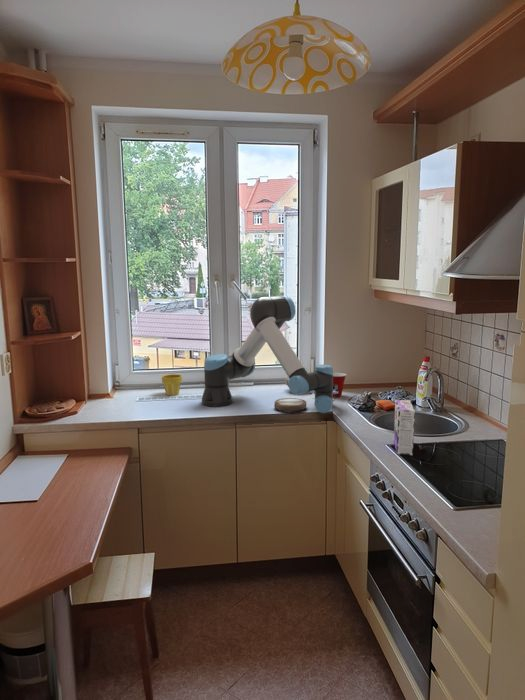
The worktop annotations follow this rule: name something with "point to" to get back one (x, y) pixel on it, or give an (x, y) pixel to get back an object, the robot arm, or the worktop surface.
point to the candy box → (404, 427)
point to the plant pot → (172, 383)
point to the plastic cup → (339, 382)
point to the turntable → (290, 404)
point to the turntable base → (290, 411)
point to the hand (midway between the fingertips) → (323, 383)
